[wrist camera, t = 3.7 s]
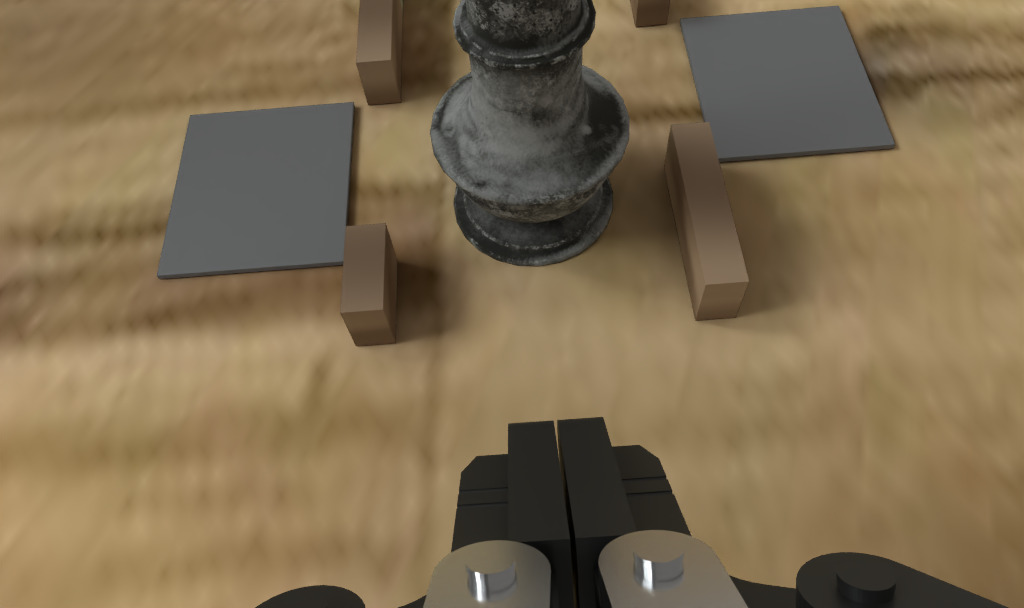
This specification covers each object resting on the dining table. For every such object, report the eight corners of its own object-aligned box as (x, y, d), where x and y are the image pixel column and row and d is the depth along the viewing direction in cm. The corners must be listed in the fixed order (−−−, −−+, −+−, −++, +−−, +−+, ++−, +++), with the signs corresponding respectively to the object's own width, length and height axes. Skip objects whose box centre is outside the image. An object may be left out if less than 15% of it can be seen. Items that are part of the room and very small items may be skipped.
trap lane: (735, 317, 24) (756, 261, 21) (356, 346, 24) (331, 294, 21) (634, -114, 35) (640, -184, 32) (377, -92, 35) (363, -160, 33)
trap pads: (921, 220, 25) (924, 216, 25) (159, 279, 25) (156, 275, 25) (837, 10, 30) (838, 5, 30) (204, 62, 31) (202, 58, 30)
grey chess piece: (413, 183, 27) (321, -182, 17) (555, 109, 28) (552, -270, 18) (506, 305, 24) (466, -41, 14) (658, 216, 26) (723, -157, 15)
